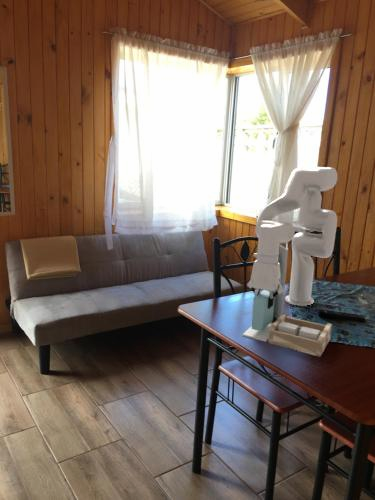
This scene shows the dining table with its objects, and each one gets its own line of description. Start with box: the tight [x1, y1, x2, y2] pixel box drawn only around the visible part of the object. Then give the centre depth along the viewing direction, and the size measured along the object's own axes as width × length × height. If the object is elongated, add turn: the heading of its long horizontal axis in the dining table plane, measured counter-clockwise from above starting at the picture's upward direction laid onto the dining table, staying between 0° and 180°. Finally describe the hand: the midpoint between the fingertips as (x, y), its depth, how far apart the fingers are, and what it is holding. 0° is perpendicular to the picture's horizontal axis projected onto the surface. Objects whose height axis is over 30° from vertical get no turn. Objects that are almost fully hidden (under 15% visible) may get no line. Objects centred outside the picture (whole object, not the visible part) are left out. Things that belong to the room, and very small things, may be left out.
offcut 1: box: [278, 322, 298, 336], centre depth 147 cm, size 4×6×6 cm, turn 60°
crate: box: [267, 312, 333, 358], centre depth 148 cm, size 16×18×6 cm
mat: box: [242, 322, 274, 343], centre depth 156 cm, size 16×9×1 cm, turn 150°
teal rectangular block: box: [251, 290, 275, 331], centre depth 154 cm, size 4×12×12 cm, turn 150°
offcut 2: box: [299, 326, 320, 340], centre depth 143 cm, size 4×6×6 cm, turn 60°
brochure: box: [273, 242, 289, 320], centre depth 166 cm, size 14×6×30 cm, turn 168°
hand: (263, 305), depth 154 cm, fingers closed on teal rectangular block, 4 cm apart
